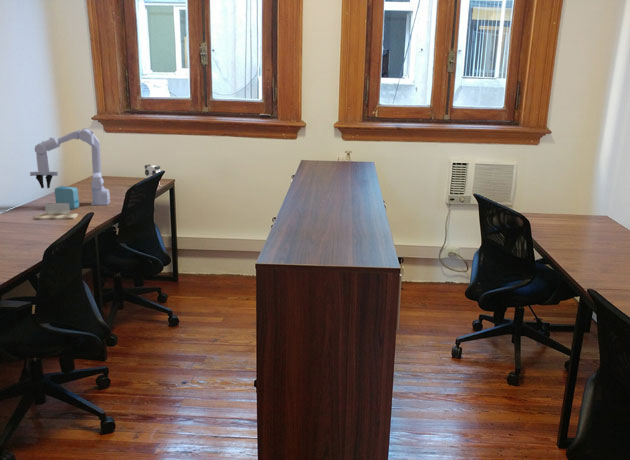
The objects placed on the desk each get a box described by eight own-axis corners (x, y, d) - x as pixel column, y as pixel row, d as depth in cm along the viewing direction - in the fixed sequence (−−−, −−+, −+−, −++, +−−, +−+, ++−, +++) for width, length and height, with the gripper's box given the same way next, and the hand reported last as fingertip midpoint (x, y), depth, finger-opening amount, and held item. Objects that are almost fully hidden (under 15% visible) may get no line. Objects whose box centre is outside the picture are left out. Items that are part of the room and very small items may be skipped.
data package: (79, 207, 320) (77, 187, 317) (74, 209, 316) (72, 189, 313) (61, 206, 323) (59, 186, 319) (56, 208, 318) (54, 187, 315)
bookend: (78, 215, 304) (76, 202, 302) (73, 219, 297) (72, 206, 295) (39, 215, 302) (37, 203, 300) (34, 219, 294) (32, 206, 292)
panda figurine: (141, 187, 375) (139, 165, 371) (154, 184, 384) (153, 163, 380) (153, 190, 369) (152, 167, 365) (166, 187, 378) (165, 165, 374)
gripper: (26, 165, 312) (29, 189, 316) (54, 165, 314) (56, 189, 318) (31, 163, 319) (34, 186, 322) (57, 163, 320) (60, 186, 324)
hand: (45, 188), depth 320 cm, fingers open, 3 cm apart
